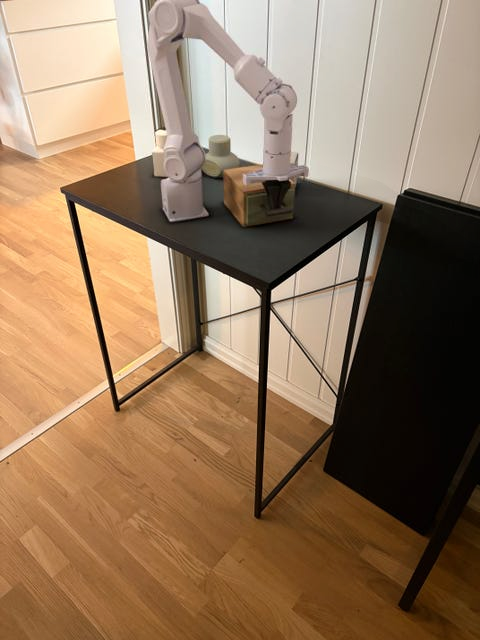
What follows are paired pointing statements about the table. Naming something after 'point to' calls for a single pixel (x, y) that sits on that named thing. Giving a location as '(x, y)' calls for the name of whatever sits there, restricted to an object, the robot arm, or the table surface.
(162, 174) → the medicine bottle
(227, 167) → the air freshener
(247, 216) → the drawer
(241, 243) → the table surface
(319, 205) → the table surface
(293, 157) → the medicine box
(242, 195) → the cabinet
